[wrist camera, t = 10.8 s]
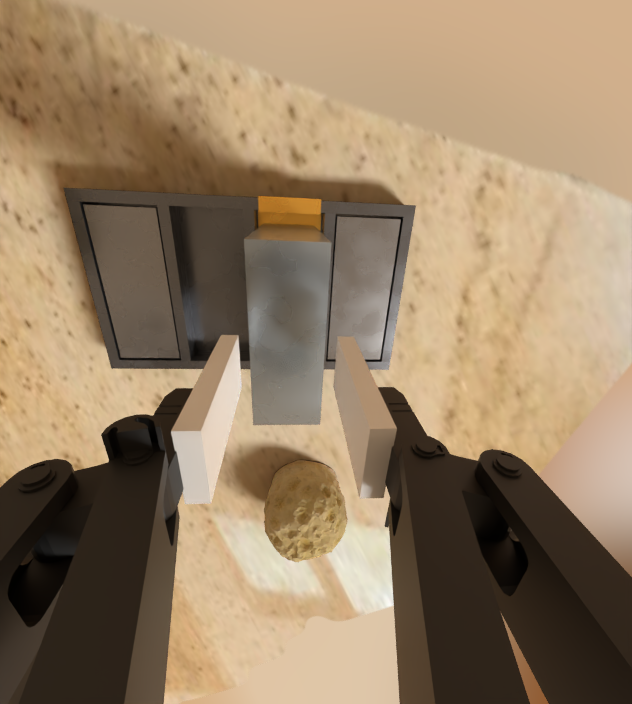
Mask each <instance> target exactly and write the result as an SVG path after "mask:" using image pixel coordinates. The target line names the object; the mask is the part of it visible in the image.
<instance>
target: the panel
mask: <svg viewBox="0 0 632 704" xmlns="http://www.w3.org/2000/svg"><path fill="white" fill-rule="evenodd" d="M331 244H332V243H331V242H330V241H329V240H328V239H327V238H326V237H325V236H324V235H323V234H322V233H321V232H320V231H319V230H318V229H317V228H316V227H315V226H314V225H295V224H272V223H264V224H262V225H261V226H260V227H259V228H257V229H256V230H255V231H254V232H252V233H251V234H250V235H249V236H247V237H246V238H245V239H244V250H245V270H246V289H247V309H248V329H249V349H250V369H251V388H252V408H253V425H311V424H320V418H321V402H322V386H323V370H324V354H325V339H326V323H327V307H328V291H329V275H330V260H331Z"/></svg>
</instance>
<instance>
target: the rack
mask: <svg viewBox="0 0 632 704" xmlns="http://www.w3.org/2000/svg"><path fill="white" fill-rule="evenodd" d="M64 192H65V196H66V199H67V203H68V207H69V211H70V214H71V218H72V222H73V226H74V229H75V233H76V237H77V241H78V244H79V248H80V252H81V256H82V259H83V263H84V267H85V270H86V274H87V278H88V282H89V285H90V289H91V293H92V297H93V300H94V304H95V308H96V312H97V315H98V319H99V323H100V327H101V330H102V334H103V338H104V342H105V345H106V349H107V353H108V357H109V360H110V364H111V368H134V369H204V367H205V365H206V363H207V361H208V359H209V357H210V355H211V353H212V352H213V350H214V348H215V346H216V344H217V342H218V340H219V338H220V336H221V335H238V338H239V353H240V368H241V369H250V349H249V329H248V309H247V289H246V270H245V250H244V239H245V238H246V237H247V236H249V235H250V234H251V233H252V232H254V231H255V230H256V229H257V228H259V227H260V226H261V225H262V224H264V223H272V224H295V225H314V226H315V227H316V228H317V229H318V230H319V231H320V232H321V233H322V234H323V235H324V236H325V237H326V238H327V239H328V240H329V241H330V242H331V243H332V244H331V260H330V275H329V291H328V307H327V323H326V339H325V354H324V369H335V362H336V350H337V338H338V336H340V337H354V338H355V340H356V343H357V345H358V347H359V349H360V351H361V353H362V355H363V357H364V360H365V362H366V364H367V366H368V368H369V369H379V370H389V365H390V359H391V353H392V347H393V341H394V334H395V328H396V322H397V316H398V310H399V304H400V298H401V292H402V286H403V280H404V274H405V268H406V262H407V256H408V250H409V243H410V237H411V231H412V225H413V219H414V213H415V207H416V206H413V205H393V204H373V203H354V202H334V201H321V199H308V198H288V197H269V196H258V198H255V197H236V196H216V195H196V194H176V193H157V192H137V191H117V190H98V189H78V188H64Z"/></svg>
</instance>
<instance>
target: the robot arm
mask: <svg viewBox="0 0 632 704" xmlns="http://www.w3.org/2000/svg"><path fill="white" fill-rule="evenodd" d="M241 388H242V383H241V368H240V353H239V338H238V335H221V336H220V338H219V340H218V342H217V344H216V346H215V348H214V350H213V352H212V353H211V355H210V357H209V359H208V361H207V363H206V365H205V367H204V369H203V371H202V373H201V375H200V377H199V378H198V380H197V382H196V384H195V386H194V388H176V389H175V390H173V391H172V392H171V393H169V394H168V395H166V396H165V398H164V399H163V401H162V402H161V404H160V405H159V407H158V408H157V410H156V411H155V413H154V415H153V416H150V415H134V416H129V417H125V418H123V419H121V420H118V421H116V422H114V423H113V424H111V425H110V426H109V427H107V428H106V429H105V431H104V432H103V433H102V434H101V436H102V439H103V442H104V445H105V448H106V451H107V455H108V458H109V462H108V463H105V464H102V465H98V466H94V467H90V468H86V469H81V470H77V471H74V470H73V467H72V465H71V464H70V463H69V462H68V461H66V460H60V459H54V460H46V461H42V462H39V463H36V464H33V465H31V466H29V467H27V468H25V469H23V470H21V471H19V472H18V473H17V474H15V475H14V476H13V477H11V478H10V479H9V480H8V481H7V482H6V483H5V484H4V485H3V486H2V487H0V704H163V703H164V692H165V680H166V668H167V657H168V645H169V633H170V622H171V610H172V599H173V587H174V575H175V564H176V552H177V540H178V529H179V512H178V507H177V505H178V503H179V500H180V497H181V495H182V492H183V496H184V501H185V504H205V503H211V502H212V498H213V494H214V491H215V487H216V483H217V479H218V475H219V472H220V468H221V464H222V460H223V456H224V453H225V449H226V445H227V441H228V437H229V434H230V430H231V426H232V422H233V418H234V414H235V411H236V407H237V403H238V399H239V395H240V392H241ZM334 391H335V395H336V399H337V404H338V408H339V412H340V417H341V421H342V425H343V429H344V434H345V438H346V442H347V446H348V451H349V455H350V459H351V463H352V468H353V472H354V476H355V481H356V485H357V489H358V493H359V498H360V499H361V498H384V492H385V487H386V486H387V489H388V492H389V495H390V503H389V507H388V512H387V517H386V522H385V527H388V526H389V531H390V548H391V565H392V581H393V598H394V614H395V630H396V648H397V664H398V681H399V698H400V704H530V702H529V699H528V696H527V693H526V690H525V687H524V684H523V681H522V678H521V675H520V672H519V668H518V665H517V662H516V659H515V656H514V653H513V650H512V647H511V643H510V640H509V637H508V634H507V631H506V628H505V625H504V622H503V619H502V615H503V617H504V619H505V621H506V623H507V624H508V627H509V628H510V630H511V632H512V634H513V636H514V638H515V640H516V642H517V644H518V646H519V648H520V649H521V651H522V653H523V655H524V657H525V659H526V661H527V663H528V664H529V667H530V668H531V670H532V672H533V674H534V676H535V678H536V680H537V682H538V684H539V686H540V688H541V690H542V692H543V693H544V695H545V697H546V699H547V701H548V703H549V704H632V577H631V576H630V575H629V574H628V573H627V572H626V571H625V570H624V568H623V567H622V566H621V565H620V564H619V563H618V562H617V561H616V560H615V559H614V558H613V557H612V555H611V554H610V553H609V552H608V551H607V550H606V549H605V548H604V547H603V546H602V545H601V544H600V542H599V541H598V540H597V539H596V538H595V537H594V536H593V535H592V534H591V533H590V531H588V529H587V528H586V527H585V526H584V525H583V524H582V523H581V522H580V521H579V520H578V519H577V518H576V516H575V515H574V514H573V513H572V512H571V511H570V510H569V509H568V508H567V507H566V505H565V504H564V503H563V502H562V501H561V500H560V499H559V498H558V497H557V496H556V495H555V493H554V492H553V491H552V490H551V489H550V488H549V487H548V486H547V485H546V484H545V483H544V482H543V480H542V479H541V478H540V477H539V476H538V475H537V474H536V473H535V472H534V471H533V469H532V468H531V467H530V466H529V465H527V464H526V463H525V462H524V461H523V460H522V459H520V458H518V457H516V456H515V455H513V454H510V453H507V452H504V451H501V450H493V449H492V450H487V451H484V452H483V453H482V454H481V455H480V457H479V460H478V461H476V460H471V459H467V458H462V457H458V456H454V455H451V454H449V452H448V450H447V448H446V447H445V446H444V445H443V444H442V443H441V442H440V441H438V440H436V439H434V438H432V437H430V436H427V434H426V433H425V431H424V429H423V428H422V426H421V424H420V423H419V421H418V419H417V417H416V416H415V414H414V412H412V409H411V407H410V405H408V402H407V400H406V399H405V397H404V395H403V394H402V393H400V392H399V391H398V390H396V389H395V388H394V387H377V385H376V383H375V381H374V379H373V377H372V374H371V372H370V370H369V368H368V366H367V364H366V362H365V360H364V357H363V355H362V353H361V351H360V349H359V347H358V345H357V343H356V340H355V338H354V337H340V336H338V338H337V350H336V362H335V375H334ZM500 611H501V612H500ZM501 613H502V615H501Z"/></svg>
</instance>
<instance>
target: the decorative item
mask: <svg viewBox="0 0 632 704" xmlns="http://www.w3.org/2000/svg"><path fill="white" fill-rule="evenodd" d="M264 513H265V521H264V523H265V532H266V534H267V536H268V537H269V540H270V541H271V543H272V544H273V546H274V547H275V549H276V550H277V551H278V552H279V553H280V555H281V556H282V557H285V558H287V559H288V560H292V561H294V562H299V561H302V560H308V559H312V558H314V557H316V558H317V557H320V556H321V555H322V554H327V553H329V552H332V550H333V549H334V548H335V546H336V545H337V544H338V542H339V541H340V539H341V538H342V536H343V534H344V532H345V527H346V524H347V516H346V509H345V500H344V496H343V495H342V493H341V491H340V487H339V484H338V481H337V480H336V474H335V472H334V471H333V470H332V469H331V468H329V467H328V466H326V465H324V464H321V463H317V462H312V461H305V460H297V461H295V462H293V463H290V464H286V465H285V466H283V467H282V468H280V469H279V470H278V471H277V472H276V473H275V475H274V478H273V480H272V484H271V487H270V489H269V492H268V497H267V499H266V502H265V508H264Z"/></svg>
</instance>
